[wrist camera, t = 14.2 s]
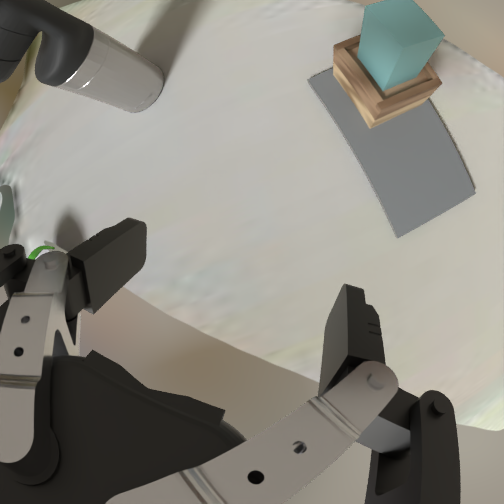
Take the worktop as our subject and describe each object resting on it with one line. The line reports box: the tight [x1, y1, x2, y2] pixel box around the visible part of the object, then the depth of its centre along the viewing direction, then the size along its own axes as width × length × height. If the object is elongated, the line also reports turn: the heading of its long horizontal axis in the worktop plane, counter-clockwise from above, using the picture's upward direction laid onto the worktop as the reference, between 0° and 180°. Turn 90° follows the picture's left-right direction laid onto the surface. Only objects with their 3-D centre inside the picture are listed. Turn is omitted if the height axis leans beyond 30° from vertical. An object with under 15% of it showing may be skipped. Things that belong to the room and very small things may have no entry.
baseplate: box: [307, 68, 476, 238], centre depth 31 cm, size 24×14×1 cm, turn 29°
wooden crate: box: [333, 35, 442, 129], centre depth 26 cm, size 9×9×8 cm
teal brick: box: [357, 0, 445, 91], centre depth 19 cm, size 5×5×10 cm
